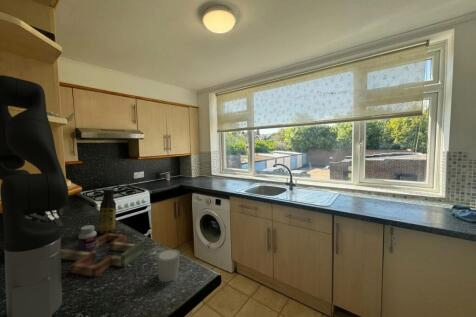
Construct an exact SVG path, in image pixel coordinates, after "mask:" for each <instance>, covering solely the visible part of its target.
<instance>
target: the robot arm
mask: <svg viewBox="0 0 476 317" xmlns="http://www.w3.org/2000/svg"><path fill="white" fill-rule="evenodd" d="M46 103H47V101H46V94H45V90H44V87H42V85H40V84H38V83H37V82H34V81H30V80H26V79H22V78H18V77H14V76H11V75H10V76H9V75H4V74H0V180H1V184H0V203H1V211H2V218H3V219H2V220H3V232H4V233H3V234H4V236H3V237H4V239H3V240H4V241H3V242H4V243H3V246H4V247H3V250H4V273H5V274H4V276H5V277H4V279H5V280H4V281H5V300H6V301H5V304H6V317H53V315H54V314H55V313H56V312H57V311H58V310H59V309H60V307H61V306H62V304H63V292H62V291H63V289H62V288H63V287H62V284H63V283H62V280H63V279H62V259H61V249H62V237H61V236H62V235H61V234H62V228H63V227H64V223H63V222H62V221H61V219H60V218H61V217H62V216H63V215H64V208H65V206H67V204H68V201H69V196H70V195H69V188H68V183H67V180H66V177H65V175H64V172H63V168H62V166H61V163H60V161H59V158H58V154H57V150H56V145H55V144H56V143H55V139H54V138H55V137H54V133H53V130H52V127H51V124H50V119H49V116H48V113H47V112H48V111H47V104H46ZM9 107H12V108H18V109H25V110H23V111H20V112H19V113H17V114H14V115H13V116H12V114H11V112H10V110H9ZM26 162H27V163H29V164H31V165H32V166H34V167H35V168H36V169H37V170H38V171H39V172H40V173H39V172H38V173H37V172H36V173H30V172H29V171H28V170H26V169H22V168H23V167H24V166H25V165H26Z"/></svg>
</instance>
